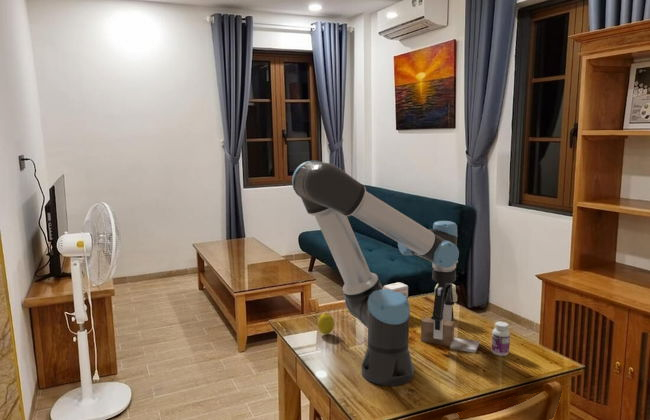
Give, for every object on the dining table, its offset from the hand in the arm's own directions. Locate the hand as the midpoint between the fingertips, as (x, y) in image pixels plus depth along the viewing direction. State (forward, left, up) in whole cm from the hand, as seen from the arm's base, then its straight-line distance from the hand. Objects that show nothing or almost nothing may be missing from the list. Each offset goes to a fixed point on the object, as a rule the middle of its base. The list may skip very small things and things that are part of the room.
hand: (442, 330), depth 165 cm
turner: (0, -3, -4) cm, 5 cm away
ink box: (+17, +22, -4) cm, 28 cm away
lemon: (-11, +38, -4) cm, 40 cm away
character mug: (+21, +4, -4) cm, 22 cm away
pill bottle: (0, -18, -4) cm, 19 cm away
